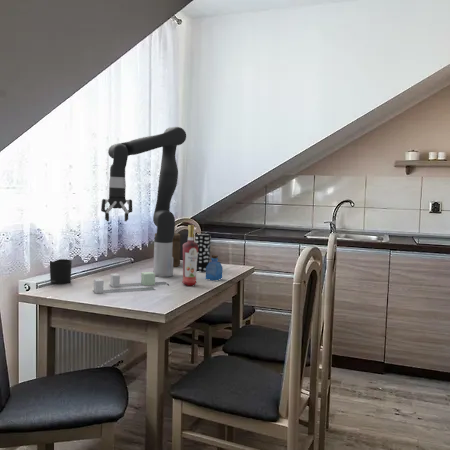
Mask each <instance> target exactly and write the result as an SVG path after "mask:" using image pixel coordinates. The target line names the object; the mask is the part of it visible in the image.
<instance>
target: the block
mask: <svg viewBox="0 0 450 450" xmlns="http://www.w3.org/2000/svg"><path fill="white" fill-rule="evenodd" d="M140 273H141V275H140V283H142V284H143V285H148V286H156V285H155V282H156V276H155V273H153V271H143V272H142V271H141V272H140Z"/></svg>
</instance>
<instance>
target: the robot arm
mask: <svg viewBox="0 0 450 450" xmlns="http://www.w3.org/2000/svg"><path fill="white" fill-rule="evenodd" d="M186 140H187V133H186V130H185V129H183V128H182V127H180V126H172V127H170V126H169V127H168V128H166V129H165V130H164V132H162V133H159V134H156V135H149V136H148V135H147V136H143V137H138V138H135V139H131V140H128V141H126V142H124V141H123V142H121V143H114V144H111V146H110V147H108V152H107V153H108V156H109V157H110V158H111V159H112V160H113V161H112V164H111V165H110V168H109V183H108V184H109V185H108V186H109V188H108V199H106V198H102V199H101V207H100V210H101V212H102V213H104V214H105V215H104V216H105V217H104V219H105V221H106V222H110V211H112V209H122V210H123V211H124V219H123V220H124V222H127V221H128V220H129V213H132V212H133V200H132V199H127V198H126V188H127V186H126V184H127V183H126V167H127V162H128V157H129V156H134V155H140V154H143V153H145V152H149V151H153V150H155V149H156V150H157V149H159V148H162V150H161V151H162V153H161V154H162V155H161V162H160V170H159V175H158V176H159V177H158V185H157V196H156V204H155V207H154V211H153V216H152V222H153V224H154V225H155V226H156V233H157V234H156V236H155V235H154V240H153V241H154V243H153V245H154V246H153V271H152V272H153V273H155V277H160V278H169V277H173V276H174V267H173V257H172V245H173V237H174V233H175V230H176V218H175V215H174V214H173V213H172V211H171V210H170V209H171V202H172V201H171V200H172V199H173V196H174V194H175V191H176V189H177V185H178V178H179V170H178V169H179V168H178V164H177V160H176V152H177V146H180V145H183V144H184V142H186ZM107 203H108V206H107V208H106V204H107ZM125 204H126V205H128V209H127V207H126V206H125Z"/></svg>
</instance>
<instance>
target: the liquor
mask: <svg viewBox="0 0 450 450" xmlns="http://www.w3.org/2000/svg"><path fill="white" fill-rule="evenodd" d="M187 227H188V234H187V235H188V236H187V240H186V241H187V242H184V243H183V244H182V281H181V284H183V285H184V286H185V285H186V286H185V287H194V286H195V285H196V284H197V272H196V269H197V257H198V244H197V243H195V240H194V239H195V238H194V236H195V235H194V232H195V231H194V229H195V225H194V224H188V225H187ZM193 285H194V286H193Z"/></svg>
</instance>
